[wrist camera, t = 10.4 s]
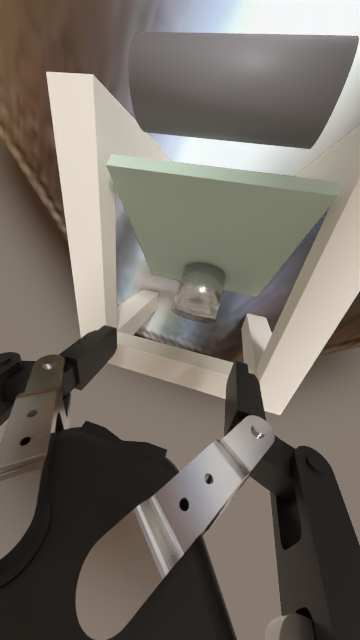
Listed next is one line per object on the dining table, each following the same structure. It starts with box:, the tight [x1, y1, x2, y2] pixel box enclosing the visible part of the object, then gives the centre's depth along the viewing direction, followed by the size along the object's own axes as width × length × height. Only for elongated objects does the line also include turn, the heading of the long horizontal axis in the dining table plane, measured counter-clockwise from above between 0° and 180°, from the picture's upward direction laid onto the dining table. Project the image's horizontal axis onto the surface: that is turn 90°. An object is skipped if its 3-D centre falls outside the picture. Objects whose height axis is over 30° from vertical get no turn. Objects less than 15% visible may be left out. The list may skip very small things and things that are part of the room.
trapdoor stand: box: [46, 72, 360, 415], centre depth 21 cm, size 21×21×16 cm
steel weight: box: [172, 263, 226, 323], centre depth 21 cm, size 5×5×5 cm
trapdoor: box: [106, 32, 359, 297], centre depth 17 cm, size 18×14×5 cm
